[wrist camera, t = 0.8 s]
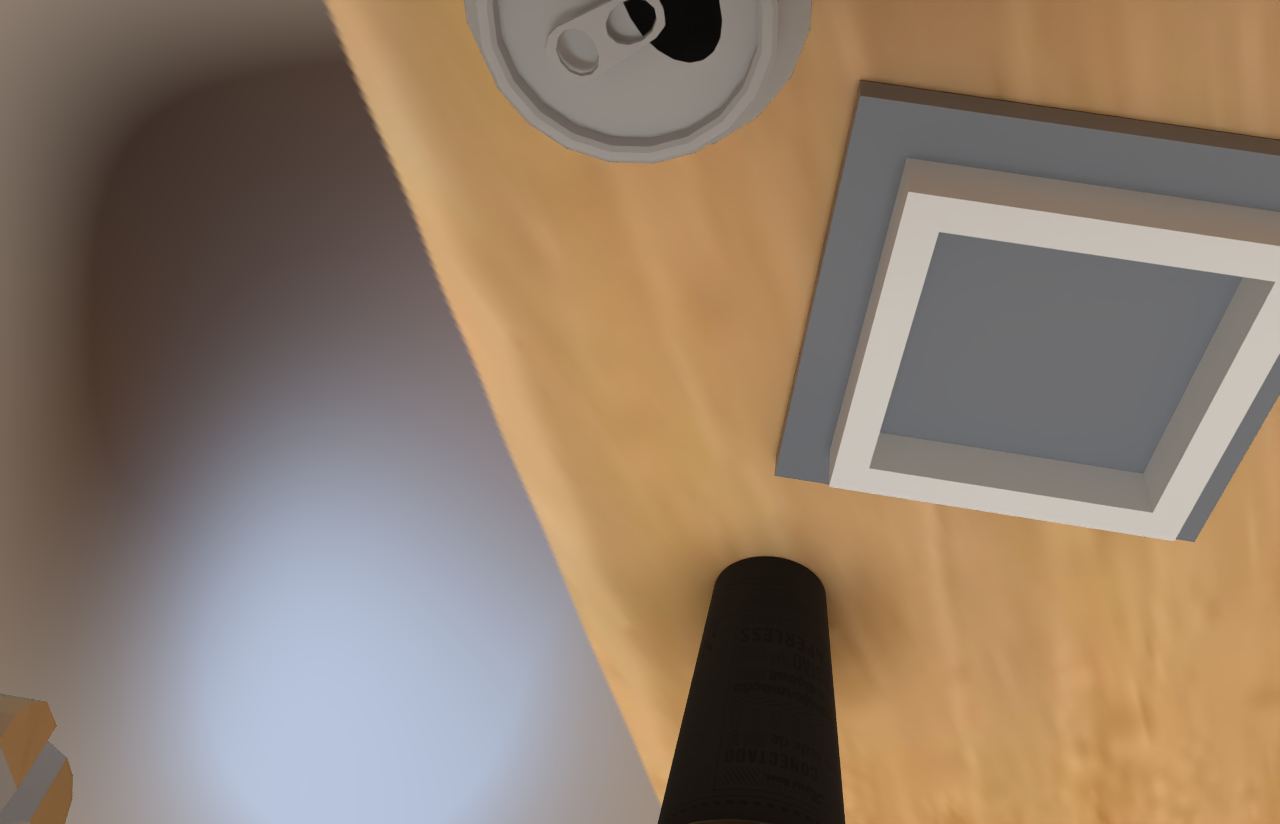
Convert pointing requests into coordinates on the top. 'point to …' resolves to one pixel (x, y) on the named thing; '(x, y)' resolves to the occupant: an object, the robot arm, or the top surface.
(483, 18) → the can
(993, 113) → the grey flat square tray
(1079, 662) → the top surface
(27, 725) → the robot arm
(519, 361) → the top surface
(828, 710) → the drinking cup
